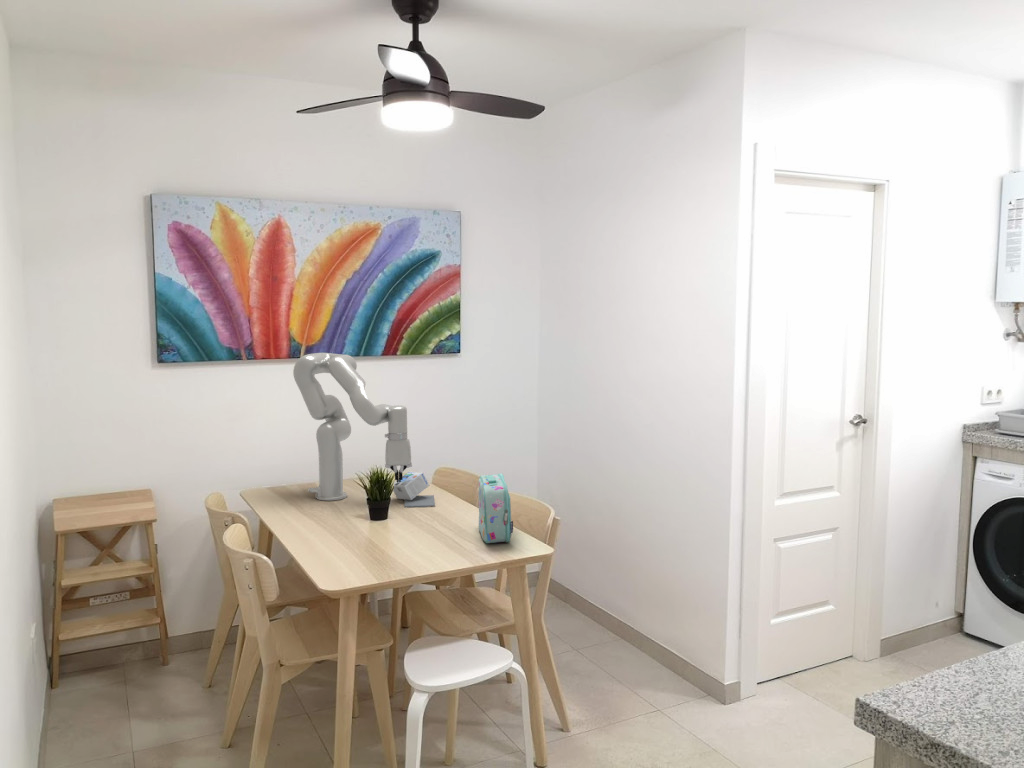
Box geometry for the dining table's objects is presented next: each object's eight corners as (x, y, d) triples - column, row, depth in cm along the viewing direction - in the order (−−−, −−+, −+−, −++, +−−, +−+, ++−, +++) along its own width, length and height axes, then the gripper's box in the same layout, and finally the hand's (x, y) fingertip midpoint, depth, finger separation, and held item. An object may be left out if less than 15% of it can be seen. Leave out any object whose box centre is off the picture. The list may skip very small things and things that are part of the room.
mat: (404, 507, 308) (404, 506, 308) (404, 497, 324) (404, 495, 324) (435, 506, 310) (435, 505, 310) (433, 496, 326) (433, 495, 325)
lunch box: (514, 547, 260) (515, 484, 258) (483, 548, 259) (484, 485, 256) (504, 524, 286) (504, 467, 284) (476, 525, 285) (476, 467, 283)
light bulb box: (389, 485, 320) (408, 470, 326) (396, 499, 322) (415, 484, 328) (404, 486, 312) (423, 471, 318) (411, 500, 314) (430, 485, 320)
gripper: (378, 438, 308) (379, 484, 310) (416, 437, 310) (417, 483, 312) (379, 435, 316) (380, 480, 317) (416, 434, 317) (417, 479, 319)
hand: (398, 481), depth 315 cm, fingers closed
